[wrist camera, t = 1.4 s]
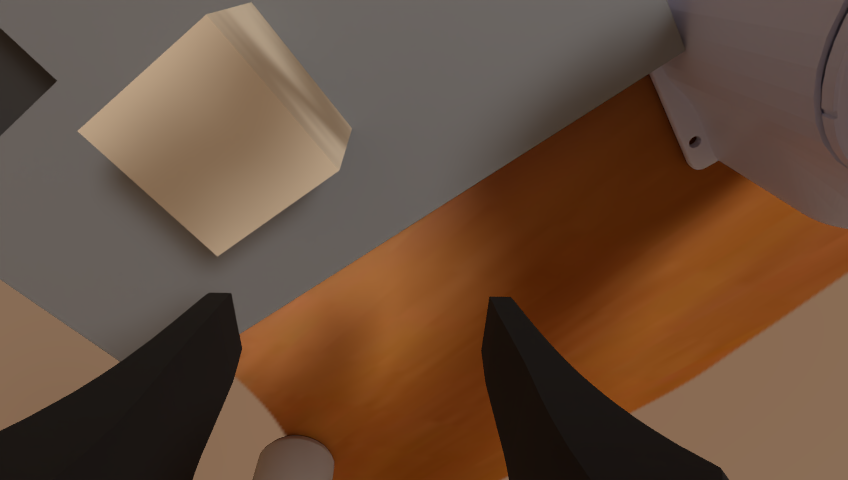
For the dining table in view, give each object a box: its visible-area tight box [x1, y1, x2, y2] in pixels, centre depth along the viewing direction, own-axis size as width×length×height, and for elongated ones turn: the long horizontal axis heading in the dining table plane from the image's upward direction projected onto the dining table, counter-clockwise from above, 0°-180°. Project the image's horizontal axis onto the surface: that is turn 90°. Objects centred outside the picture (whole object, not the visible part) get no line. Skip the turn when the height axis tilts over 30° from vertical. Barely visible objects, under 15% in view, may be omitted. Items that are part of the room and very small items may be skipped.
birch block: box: [78, 2, 352, 257], centre depth 15 cm, size 5×5×4 cm
